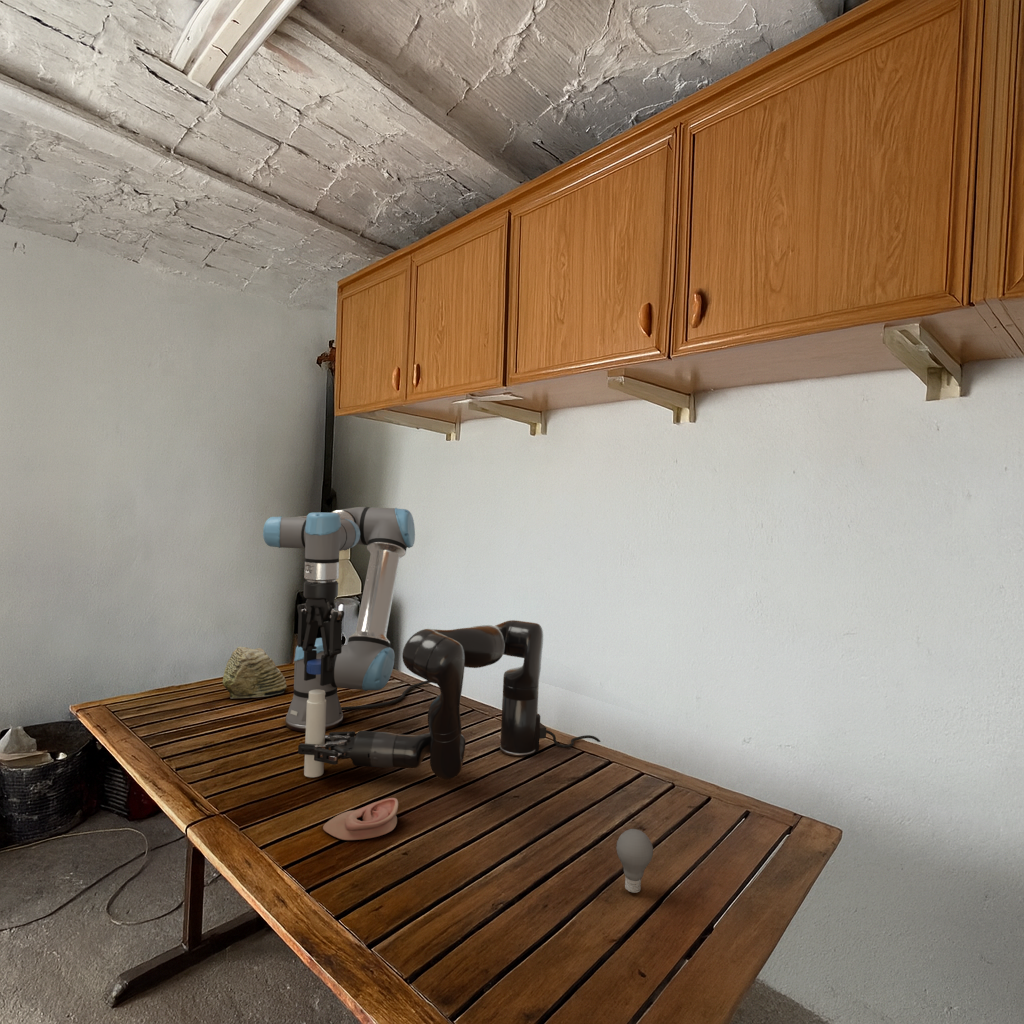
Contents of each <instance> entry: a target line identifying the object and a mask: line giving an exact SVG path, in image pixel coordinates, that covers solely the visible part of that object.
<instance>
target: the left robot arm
mask: <svg viewBox="0 0 1024 1024" xmlns="http://www.w3.org/2000/svg"><path fill="white" fill-rule="evenodd" d="M414 521H415V520H414V516H413V514H412V513H411V511H410V510H408V509H406V508H398V507H372V506H371V507H370V506H356V507H348V508H343V509H336V510H333V511H331V512H321V511H320V512H319V511H318V512H317V511H316V512H315V511H314V512H309V513H308V514H307V515H300V516H280V515H279V516H270V517H269V518H267V519H266V521H265V522H264V524H263V528H262V538H263V541H264V543H265V544H266V545H267V546H269V547H272V548H278V549H282V548H283V549H304V572H303V576H304V579H305V581H304V582H303V597H304V598H305V599H306V601H305V603H301V604H297V606H296V608H297V614H298V619H297V620H298V621H297V622H298V623H297V645H296V647H295V652H294V653H295V654H294V659H293V661H294V670H293V671H294V672H293V695H292V696H293V697H292V699H291V702H290V704H289V708H288V711H287V713H286V715H285V726H286V728H287V729H289V730H291V731H294V732H295V731H296V732H301V733H306V709H307V700H308V699H309V691H311V690H316V689H320V690H324V691H325V699H326V723H325V731H329V730H332V729H335V728H337V727H339V726H340V725H342V723H343V722H344V714H343V711H353V710H364V709H373V708H374V709H375V708H380V707H385V706H389V705H392V704H396V703H398V702H400V701H401V700H403V699H404V698H405V696H406V695H407V694H408V693H409V692H410V691H411V690H412V689H415V688H418V687H420V686H424V685H428V684H430V683H431V684H433V683H432V682H430V681H428V680H424V681H420V682H418V683H414V684H411V685H409V686H408V687H407V688H406V689H405V690H404V691H403V692H402V693H401V695H400V696H399V697H397V698H395V699H392V700H388V701H384V702H380V703H379V702H378V703H374V704H372V703H371V704H363V705H352V706H341V702H340V699H339V695H338V689H350V690H360V691H361V690H362V691H365V692H368V691H380V690H382V689H384V688H385V686H387V684H388V683H389V681H390V678H391V677H392V676H391V675H392V673H393V671H394V666H395V657H396V655H395V651H394V649H393V648H392V647H391V641H390V640H389V639H388V638H387V633H388V627H389V621H390V615H391V610H392V604H393V599H394V592H395V587H396V581H397V575H398V570H399V564H400V559H402V558H403V557H404V556H406V553H407V549H410V548H413V547H414V544H415V540H416V528H415V522H414ZM356 545H361V546H362V545H363V546H366V549H367V551H368V552H369V553H370V556H369V561H368V566H367V571H366V576H365V581H364V587H363V592H362V596H361V602H360V606H359V607H360V608H359V612H358V616H357V623H356V627H355V632H354V633H353V634H351V635H350V636H348V640H347V644H343V620H344V617H345V611H344V610H339V609H337V607H336V602H335V600H336V598H337V597H339V582H338V581H337V580H338V579H339V578H340V552H342V551H348V550H350V549H351V548H354V547H355V546H356ZM319 628H320V634H321V637H318V632H319ZM313 659H321V674H319V675H314V674H309V673H307V662H308V661H309V660H313Z"/></svg>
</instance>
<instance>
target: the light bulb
mask: <svg viewBox="0 0 1024 1024" xmlns="http://www.w3.org/2000/svg"><path fill="white" fill-rule="evenodd" d="M615 849H616V854H617V857H618V859H619V861H620V863H621V865H622V867H623V873H624V874H623V875H624V876H625V878H624V888H625V890H627V891H628V892H630V893H634V894H635V893H639V892H640V891H641V889H642V887H641V886H642V879H643V877H644V875H645V871H646V868H647V867H648V866H649V864H650V863H651V861H652V859H653V855H654V847H653V843H652V841H651V838H649V836H648V835H647V834H646V833H645V832H643V831H642V830H641V829H636V828H629V829H627V830H625V831H623V832H622V833H621V834H620V835H619V837H618V839H617V841H616V847H615Z"/></svg>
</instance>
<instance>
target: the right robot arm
mask: <svg viewBox="0 0 1024 1024" xmlns="http://www.w3.org/2000/svg"><path fill="white" fill-rule="evenodd" d="M543 647H544V630H543V627H542V625H540V624H539V623H538V622H531V621H523V620H517V619H516V620H515V619H512V620H511V619H510V620H506V621H503V622H500V623H497V624H495V625H492V624H483V625H482V624H481V625H475V626H470V627H460V628H453V629H437V628H423V629H421V630H418V631H416V632H415V633H413V634H412V635H411V636H410V637H409V639H408V640H407V641H406V642H405V644H404V647H403V649H402V662H403V664H404V666H405V668H406V669H407V670H408V671H410V672H411V673H412V674H414V675H415V676H417V677H420V678H422V679H423V680H425V681H427V680H428V681H430V682H432V683H431V684H435V685H437V686H438V688H439V691H440V694H438V695H437V696H436V697H435V698H434V699H433V701H431V703H430V705H429V707H428V710H427V726H428V732H426V733H421V734H415V735H414V734H412V735H411V734H398V733H393V732H386V731H370V730H359V731H357V732H356V731H354V730H351V731H349V730H348V731H331V732H329V733H328V734H325V744H317V745H316V744H305V742H304V743H303V742H301V743H299V744H298V746H297V753H298V755H304V756H305V755H314V760H315V761H319V762H324V764H329V765H338V764H339V761H340V760H345V759H350V760H351V761H352V764H353V766H355V767H366V768H379V769H380V768H381V769H385V768H399V769H400V768H401V769H417V768H419V767H420V765H421V764H422V762H423V760H424V759H425V757H426V756H427V755H429V764H430V769H431V771H432V773H433V774H434V776H436V777H437V778H438V779H441V780H444V781H449V780H453V779H455V778H456V777H458V776H459V775H460V773H461V771H462V769H463V764H464V759H465V758H464V757H465V751H466V744H467V743H466V738H465V736H464V735H463V734H462V732H463V730H462V719H461V718H462V717H461V699H462V693H463V692H462V691H463V685H464V676H465V668H468V669H469V668H470V669H480V668H483V667H484V668H485V667H488V666H491V665H494V664H497V662H499V661H500V660H501V659H502V657H503V656H508V657H514V658H519V659H520V658H521V659H523V663H522V665H521V666H517V667H513V668H509V669H507V670H505V671H504V673H503V678H502V701H501V703H502V704H501V707H502V708H501V722H500V723H501V725H500V739H499V740H500V742H499V743H500V745H499V751H500V752H502V753H503V754H505V755H508V756H512V757H529V756H532V755H534V754H536V753H539V752H540V740H541V739H547V734H548V735H550V736H551V737H552V740H553V744H554V745H555V746H557V747H558V748H559V747H560V748H565V749H566V748H572V747H573V746H575V742H576V741H580V740H585V739H592V740H594V741H596V742H597V743H602V742H601V740H600V738H598V737H597V736H594V735H588V734H585V735H580V736H576V737H573V738H572V739H570V743H568V744H562V743H559V742H557V737H556V735H555V734H554V732H552V731H550V730H548V729H547V727H546V725H544V724H543V723H541V714H540V713H538V712H539V711H538V710H539V688H540V685H539V684H540V677H541V669H542V657H543ZM322 748H325V749H322Z"/></svg>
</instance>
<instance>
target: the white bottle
mask: <svg viewBox="0 0 1024 1024" xmlns="http://www.w3.org/2000/svg"><path fill="white" fill-rule="evenodd" d="M325 723H326V699H325V691H324V690H320V689H316V690H311V691H309V699H308V700H307V709H306V732H305V739H304V744H316V745H317V744H325V735H326V730H325ZM322 749H325V748H322ZM303 762H304V763H303V765H304V766H303V775H304V776H305V777H307V778H318V777H321V776H323V774H324V772H325V763H324V762H319V761H315V760H314V755H304V761H303Z"/></svg>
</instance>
